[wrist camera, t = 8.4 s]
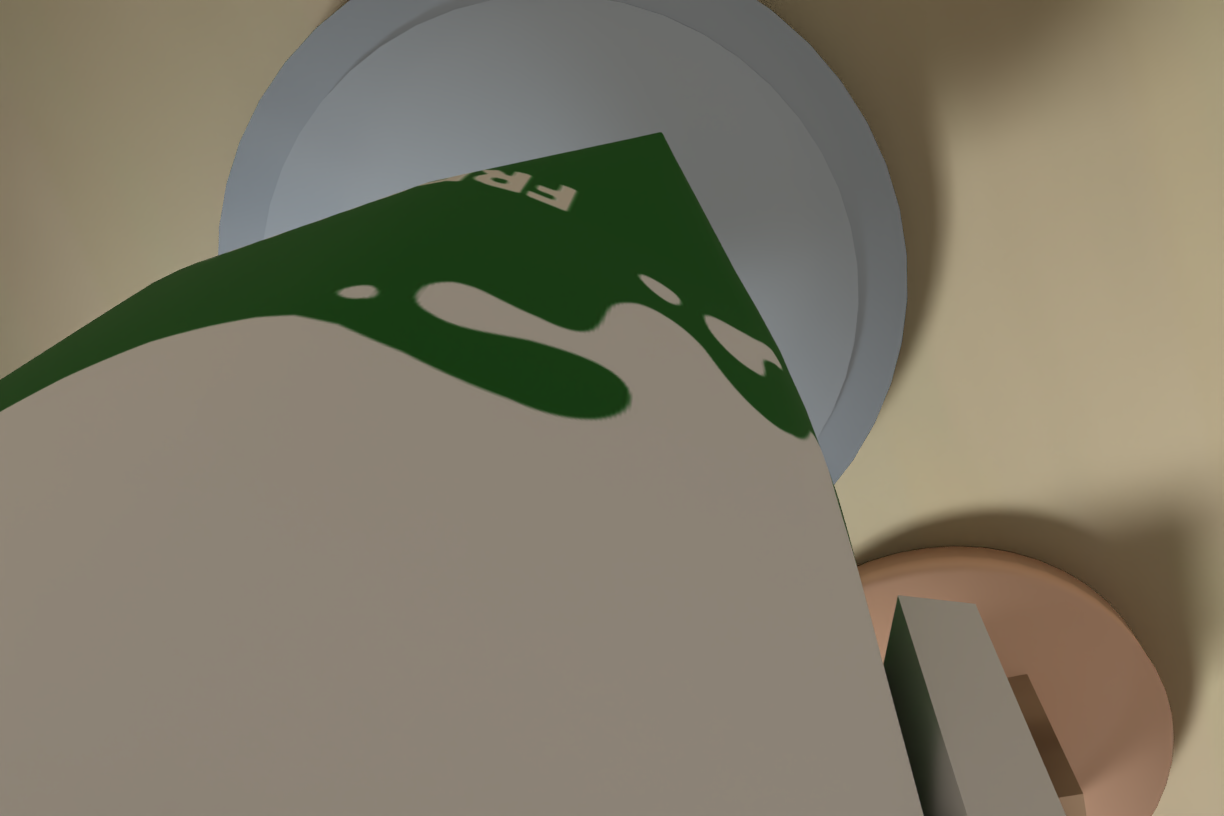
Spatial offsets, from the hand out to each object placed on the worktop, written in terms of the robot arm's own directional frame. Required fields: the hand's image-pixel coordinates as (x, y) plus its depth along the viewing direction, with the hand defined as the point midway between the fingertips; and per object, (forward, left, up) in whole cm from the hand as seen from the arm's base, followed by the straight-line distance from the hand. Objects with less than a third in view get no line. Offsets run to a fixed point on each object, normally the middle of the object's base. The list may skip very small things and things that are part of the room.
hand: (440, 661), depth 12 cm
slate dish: (0, 0, -14) cm, 14 cm away
